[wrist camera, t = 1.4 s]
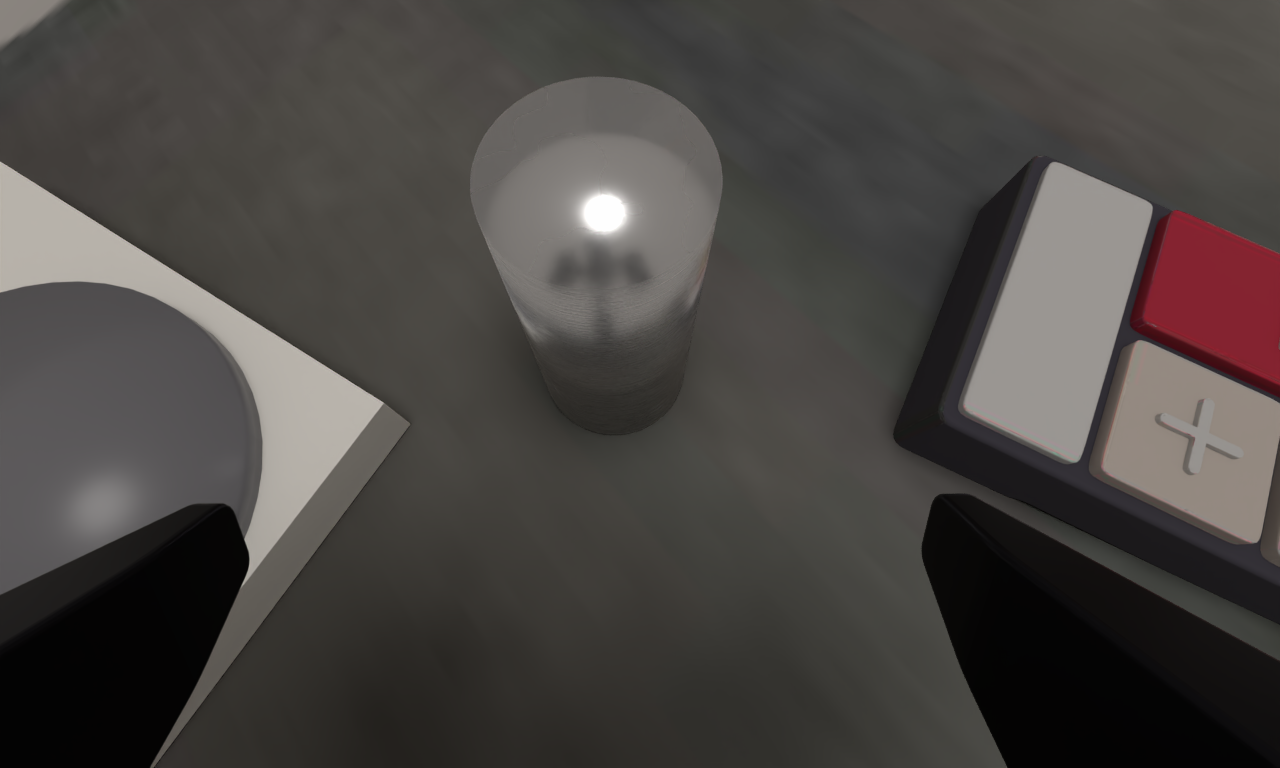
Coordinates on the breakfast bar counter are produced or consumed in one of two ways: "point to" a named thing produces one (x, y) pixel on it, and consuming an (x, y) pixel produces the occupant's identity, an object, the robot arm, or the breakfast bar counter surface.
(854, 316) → the breakfast bar counter surface
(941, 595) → the robot arm
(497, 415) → the breakfast bar counter surface
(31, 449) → the kitchen scale
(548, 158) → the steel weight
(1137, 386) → the calculator
